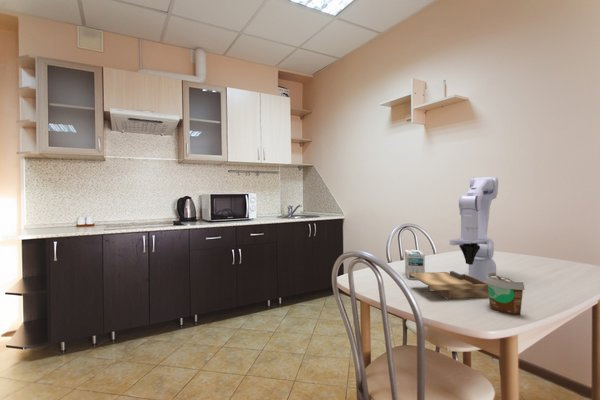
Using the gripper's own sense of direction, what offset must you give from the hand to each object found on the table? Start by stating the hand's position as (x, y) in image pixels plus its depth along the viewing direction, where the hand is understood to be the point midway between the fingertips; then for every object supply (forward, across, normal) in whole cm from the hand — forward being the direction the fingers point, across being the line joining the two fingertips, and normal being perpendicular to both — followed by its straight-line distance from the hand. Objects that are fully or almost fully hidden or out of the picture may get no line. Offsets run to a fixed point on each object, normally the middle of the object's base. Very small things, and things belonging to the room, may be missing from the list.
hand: (469, 264), depth 115 cm
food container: (+10, -4, -20) cm, 22 cm away
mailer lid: (+6, -14, -3) cm, 15 cm away
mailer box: (+9, -6, -3) cm, 12 cm away
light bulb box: (+10, -12, +19) cm, 25 cm away
